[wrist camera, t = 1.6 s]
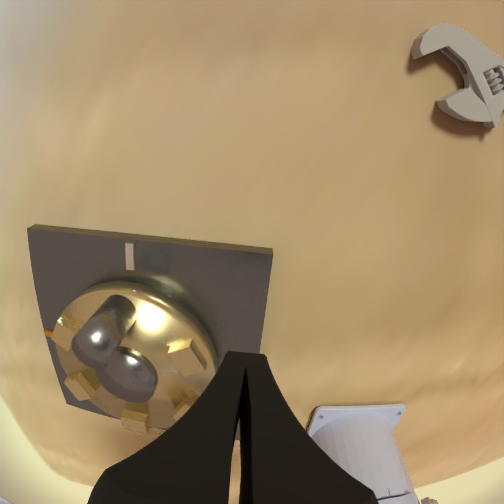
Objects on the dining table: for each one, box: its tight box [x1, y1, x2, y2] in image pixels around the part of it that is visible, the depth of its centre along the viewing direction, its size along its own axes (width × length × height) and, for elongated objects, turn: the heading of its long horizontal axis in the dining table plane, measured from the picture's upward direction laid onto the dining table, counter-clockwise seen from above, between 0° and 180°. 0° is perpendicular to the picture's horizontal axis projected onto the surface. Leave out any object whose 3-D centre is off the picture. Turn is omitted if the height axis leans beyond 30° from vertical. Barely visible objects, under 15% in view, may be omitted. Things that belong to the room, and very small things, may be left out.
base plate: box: [27, 224, 273, 440], centre depth 20 cm, size 16×16×1 cm
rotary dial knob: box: [51, 281, 218, 434], centre depth 17 cm, size 11×11×6 cm
